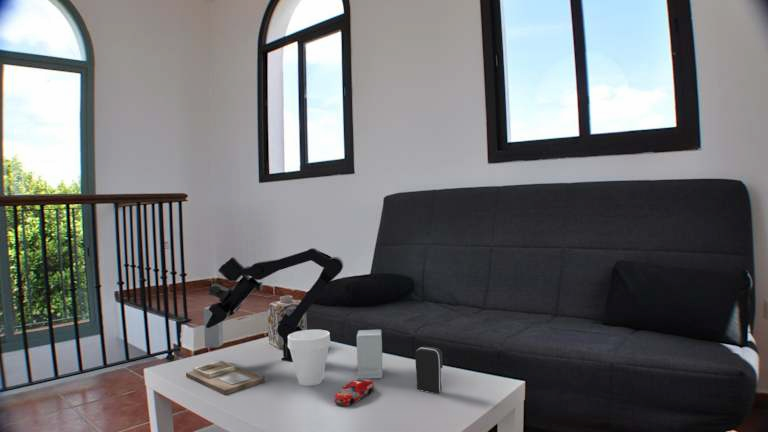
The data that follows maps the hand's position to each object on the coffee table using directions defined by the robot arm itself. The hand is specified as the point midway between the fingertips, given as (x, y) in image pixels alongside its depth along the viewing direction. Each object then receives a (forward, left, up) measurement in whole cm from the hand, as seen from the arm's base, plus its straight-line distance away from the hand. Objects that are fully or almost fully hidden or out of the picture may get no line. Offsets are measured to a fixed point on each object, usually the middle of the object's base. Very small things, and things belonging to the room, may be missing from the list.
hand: (209, 325), depth 156 cm
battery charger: (-78, -1, -13) cm, 79 cm away
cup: (-43, +4, -13) cm, 45 cm away
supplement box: (-57, -7, -13) cm, 59 cm away
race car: (-61, +10, -13) cm, 63 cm away
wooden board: (-17, +11, -12) cm, 24 cm away
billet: (-1, -1, -7) cm, 7 cm away
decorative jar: (-11, -28, -13) cm, 32 cm away
